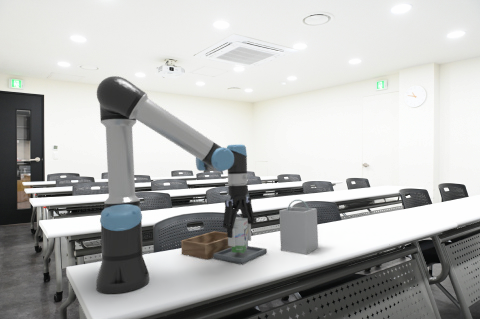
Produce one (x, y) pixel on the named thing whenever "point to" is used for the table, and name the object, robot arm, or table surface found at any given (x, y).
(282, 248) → the caddy
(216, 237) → the crate
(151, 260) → the table surface
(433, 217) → the table surface
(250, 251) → the tray
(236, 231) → the ink box
